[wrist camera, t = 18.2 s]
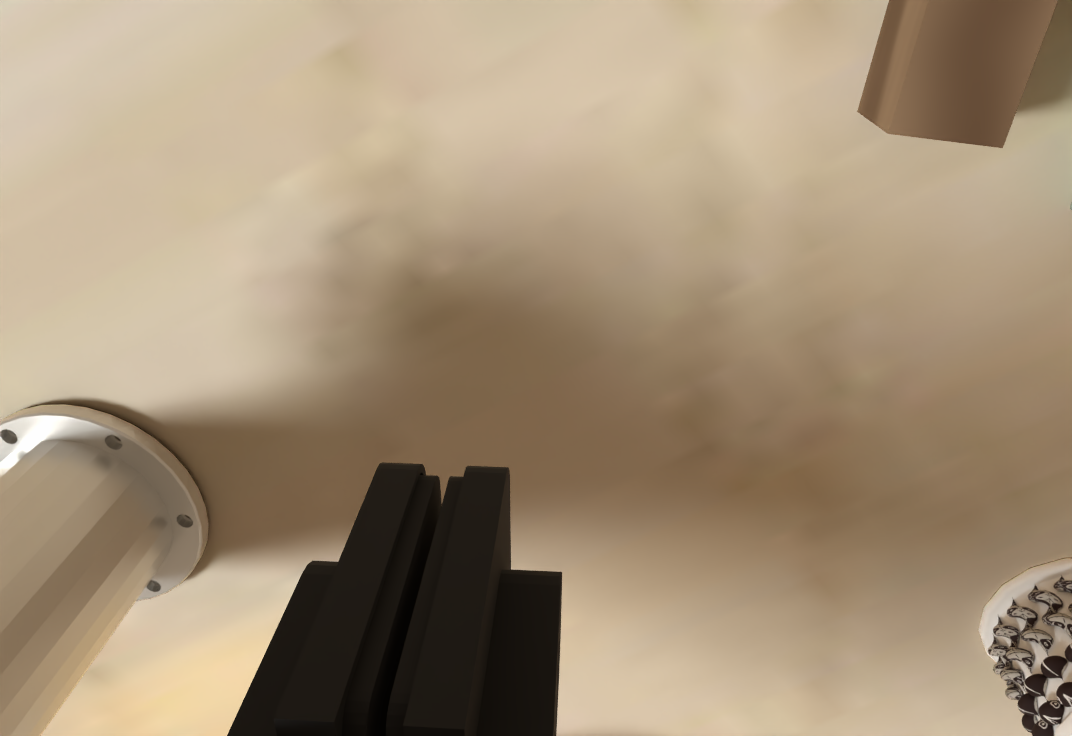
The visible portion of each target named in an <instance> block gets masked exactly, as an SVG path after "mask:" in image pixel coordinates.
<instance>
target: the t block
mask: <svg viewBox="0 0 1072 736" xmlns="http://www.w3.org/2000/svg"><path fill="white" fill-rule="evenodd" d="M1057 2H1058V0H889V3H888V6H887V10H886V13H885V17H884V20H883V24H882V27H881V31H880V34H879V38H878V41H877V45H876V48H875V52H874V55H873V59H872V62H871V66H870V69H869V73H868V76H867V80H866V83H865V87H864V90H863V94H862V97H861V101H860V104H859V108H858V111H857V112H859V113H860V114H861V115H863V116H864V117H865V118H867V119H868V120H870V121H871V122H872V123H874V124H875V125H877V126H878V127H879V128H881V129H882V130H884V131H885V132H886V133H888V134H895V135H903V136H911V137H919V138H927V139H935V140H943V141H951V142H959V143H967V144H975V145H983V146H991V147H999V148H1003V145H1004V143H1005V140H1006V137H1007V135H1008V132H1009V129H1010V127H1011V124H1012V121H1013V119H1014V116H1015V114H1016V111H1017V108H1018V106H1019V103H1020V100H1021V98H1022V95H1023V92H1024V90H1025V87H1026V84H1027V82H1028V79H1029V76H1030V74H1031V71H1032V68H1033V66H1034V63H1035V60H1036V58H1037V55H1038V52H1039V50H1040V47H1041V44H1042V42H1043V39H1044V36H1045V34H1046V31H1047V29H1048V26H1049V23H1050V21H1051V18H1052V15H1053V13H1054V10H1055V7H1056V5H1057Z"/></svg>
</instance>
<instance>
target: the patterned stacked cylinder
mask: <svg viewBox="0 0 1072 736" xmlns="http://www.w3.org/2000/svg"><path fill="white" fill-rule="evenodd" d="M978 631H979V634H980V636H981V639H982V642H983V645H984V648H985V651H986V653H987V655H988V656H990V657H991V658H992V659H993V660H994V661H995V662H997V664H995V665H994V667H993V670H994V672H995V673H996V674H1000V676H1001V678H1002V679H1003V680H1006V681H1007V682H1006V685H1007V686H1008V688H1007V689H1006V691H1005V694H1006V696H1007V697H1008V698H1009V699H1016V700H1019V701H1018V708H1019V710H1020V711H1021V712H1022V713H1023V714H1024V716H1023V717H1022V724H1023V726H1024V728H1025V729H1026V730H1027V731H1028V732H1030V733H1032V735H1033V736H1072V558H1064V559H1060V560H1057V561H1053V562H1050V563H1046V564H1043V565H1039V566H1035V567H1032V568H1029V569H1028V570H1026V571H1024V572H1023V573H1021V574H1020V575H1018V576H1016V577H1015V578H1013V579H1011V580H1010V581H1008V582H1006V583H1005V584H1003V585H1002V586H1001V587H1000V588H999V589H998V591H997V592H996V593H995V594H994V595H993V597H992V598H991V599H990V600H989V601H988V603H987V604H986V605H985V606H984V609H983V613H982V617H981V621H980V625H979V629H978Z"/></svg>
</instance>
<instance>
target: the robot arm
mask: <svg viewBox="0 0 1072 736" xmlns="http://www.w3.org/2000/svg"><path fill="white" fill-rule="evenodd" d="M208 526H209V524H208V518H207V512H206V506H205V504H204V501H203V499H202V496H201V494H200V491H199V489H198V487H197V485H196V484H195V482H194V481H193V479H192V477H191V476H190V474H189V472H188V471H187V470H186V469H185V467H184V466H183V465H182V464H181V463H180V462H179V461H178V459H177V458H176V457H175V456H174V455H173V454H172V453H171V452H170V451H169V450H168V449H166V448H165V447H164V446H163V445H162V444H161V443H159V442H158V441H157V440H156V439H155V438H153V437H152V436H150V435H149V434H147V433H145V432H144V431H142V430H141V429H139V428H138V427H136V426H134V425H133V424H131V423H128V422H126V421H124V420H122V419H120V418H117V417H115V416H113V415H111V414H108V413H104V412H101V411H97V410H94V409H90V408H87V407H80V406H72V405H65V404H58V405H40V406H35V407H31V408H27V409H22V410H20V411H18V412H16V413H14V414H12V415H10V416H8V417H5V418H4V419H3V420H2V421H0V736H41V734H42V733H43V732H44V730H45V729H46V727H47V726H48V724H49V723H50V722H51V720H52V719H53V717H54V716H55V715H56V713H57V712H58V710H59V709H60V708H61V706H62V705H63V703H64V702H65V700H66V699H67V698H68V696H69V695H70V693H71V692H72V691H73V689H74V688H75V686H76V685H77V683H78V682H79V681H80V679H81V678H82V676H83V675H84V674H85V672H86V671H87V669H88V668H89V667H90V665H91V664H92V662H93V661H94V659H95V658H96V657H97V655H98V654H99V652H100V651H101V650H102V648H103V647H104V645H105V644H106V643H107V641H108V640H109V638H110V637H111V635H112V634H113V633H114V631H115V630H116V628H117V627H118V626H119V624H120V623H121V621H122V620H123V618H124V617H125V616H126V614H127V613H128V611H129V610H130V609H131V607H132V606H133V604H134V603H135V602H136V601H141V600H147V599H152V598H155V597H157V596H160V595H163V594H165V593H168V592H169V591H171V590H172V589H174V588H175V587H177V586H178V585H180V584H181V583H182V582H183V581H184V580H185V579H186V578H187V577H188V576H189V575H190V574H191V572H192V571H193V569H194V568H195V566H196V565H197V563H198V562H199V560H200V558H201V557H202V555H203V552H204V549H205V546H206V543H207V539H208ZM561 596H562V572H549V571H527V570H511V537H510V474H509V468H506V467H481V466H467V467H466V470H465V473H464V477H453V476H451V477H450V478H449V481H448V484H447V488H446V492H445V496H444V499H443V503H442V507H441V490H440V480H439V477H438V476H428V475H426V472H425V468H424V466H423V465H422V464H404V463H380V464H379V466H378V468H377V470H376V472H375V475H374V477H373V480H372V482H371V484H370V487H369V489H368V492H367V494H366V496H365V499H364V501H363V504H362V506H361V509H360V511H359V513H358V516H357V518H356V521H355V523H354V525H353V528H352V530H351V533H350V535H349V538H348V540H347V542H346V545H345V547H344V550H343V552H342V555H341V557H340V559H339V562H329V561H312V562H310V563H309V564H308V565H307V566H306V568H305V570H304V571H303V573H302V575H301V577H300V579H299V582H298V584H297V586H296V588H295V590H294V592H293V595H292V597H291V599H290V601H289V603H288V605H287V607H286V610H285V612H284V614H283V616H282V618H281V620H280V623H279V625H278V627H277V629H276V631H275V633H274V636H273V638H272V640H271V642H270V644H269V646H268V648H267V651H266V653H265V655H264V657H263V659H262V661H261V664H260V666H259V668H258V670H257V672H256V674H255V677H254V679H253V681H252V683H251V685H250V687H249V689H248V692H247V694H246V696H245V698H244V700H243V702H242V705H241V707H240V709H239V711H238V713H237V715H236V718H235V720H234V722H233V724H232V726H231V728H230V730H229V733H228V735H227V736H556V728H557V707H558V685H559V661H560V633H561Z"/></svg>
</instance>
